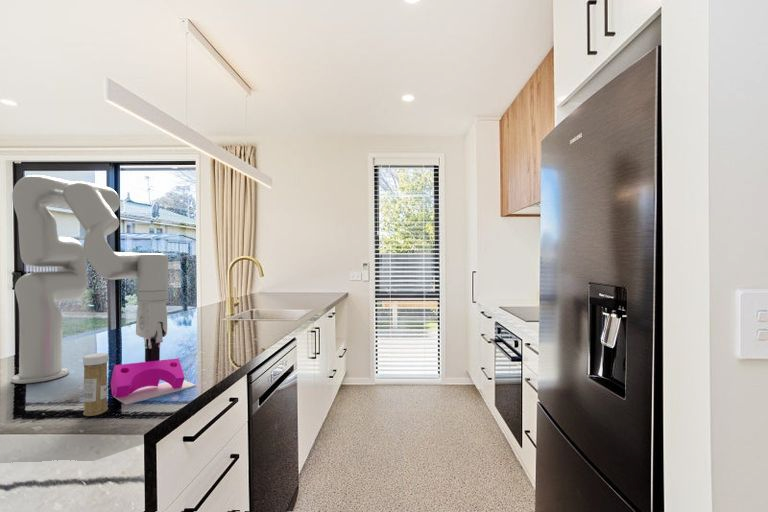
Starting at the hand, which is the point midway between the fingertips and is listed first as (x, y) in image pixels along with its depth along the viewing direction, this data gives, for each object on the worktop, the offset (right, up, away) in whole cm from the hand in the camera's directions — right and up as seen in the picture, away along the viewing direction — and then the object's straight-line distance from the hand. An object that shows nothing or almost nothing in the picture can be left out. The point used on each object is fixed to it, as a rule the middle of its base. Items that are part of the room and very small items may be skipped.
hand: (152, 361), depth 106 cm
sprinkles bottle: (-1, -7, -19) cm, 21 cm away
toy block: (+1, -1, -4) cm, 4 cm away
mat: (+4, -7, -5) cm, 9 cm away
